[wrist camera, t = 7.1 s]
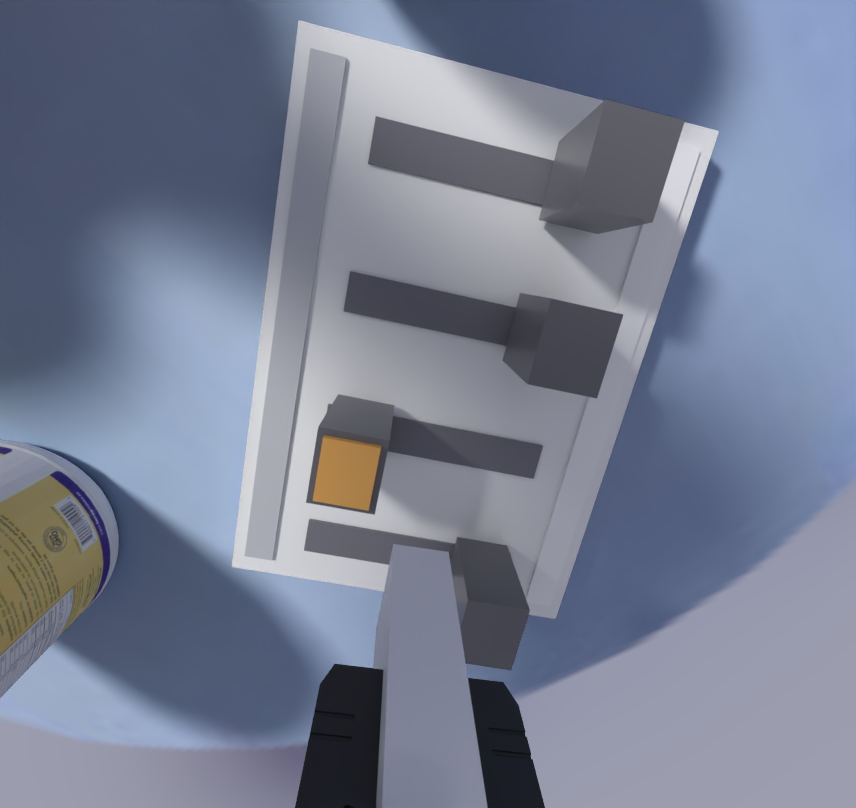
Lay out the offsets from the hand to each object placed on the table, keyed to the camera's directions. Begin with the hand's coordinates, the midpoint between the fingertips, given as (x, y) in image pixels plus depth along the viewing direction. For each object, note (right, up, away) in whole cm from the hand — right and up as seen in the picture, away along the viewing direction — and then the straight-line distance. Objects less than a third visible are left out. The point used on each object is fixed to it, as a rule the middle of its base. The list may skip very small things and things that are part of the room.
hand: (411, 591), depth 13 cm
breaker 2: (+3, -5, +15) cm, 16 cm away
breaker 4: (+6, +9, +12) cm, 16 cm away
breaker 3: (+8, +15, +10) cm, 20 cm away
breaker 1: (-3, +4, +13) cm, 13 cm away
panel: (+2, +7, +14) cm, 16 cm away
